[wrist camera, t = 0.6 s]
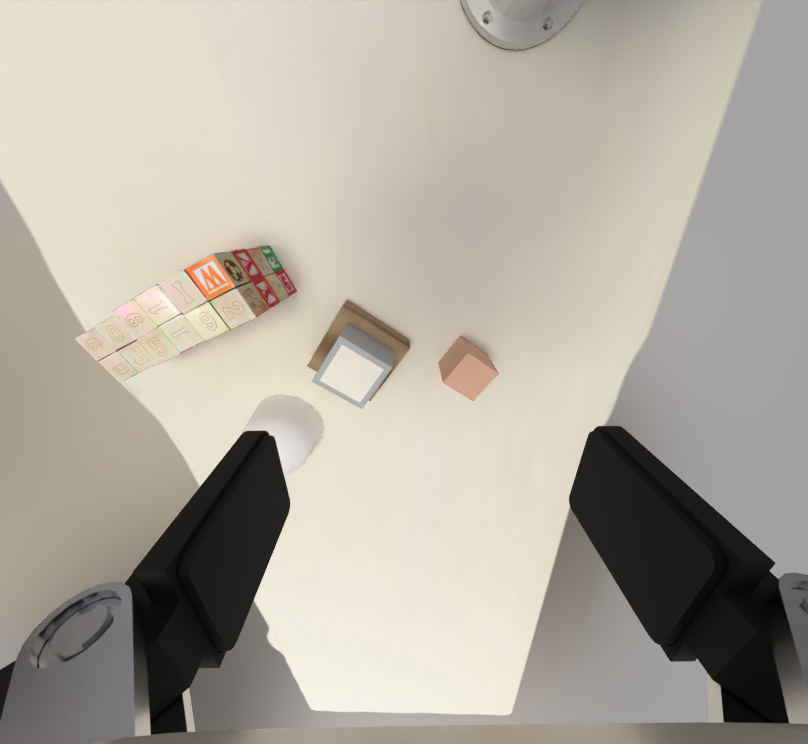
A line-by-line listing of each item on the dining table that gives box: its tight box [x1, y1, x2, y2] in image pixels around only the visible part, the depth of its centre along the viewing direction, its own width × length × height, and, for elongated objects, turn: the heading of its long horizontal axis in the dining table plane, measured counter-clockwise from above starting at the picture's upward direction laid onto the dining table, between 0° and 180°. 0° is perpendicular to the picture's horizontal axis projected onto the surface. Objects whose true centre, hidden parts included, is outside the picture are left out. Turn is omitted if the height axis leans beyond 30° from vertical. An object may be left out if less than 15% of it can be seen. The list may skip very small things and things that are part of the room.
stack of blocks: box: [75, 246, 296, 382], centre depth 34 cm, size 21×6×12 cm, turn 114°
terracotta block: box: [439, 336, 499, 401], centre depth 40 cm, size 5×5×6 cm
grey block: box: [312, 322, 394, 409], centre depth 38 cm, size 7×7×5 cm
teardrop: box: [242, 394, 322, 475], centre depth 43 cm, size 11×11×12 cm
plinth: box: [308, 300, 410, 401], centre depth 41 cm, size 10×10×3 cm
